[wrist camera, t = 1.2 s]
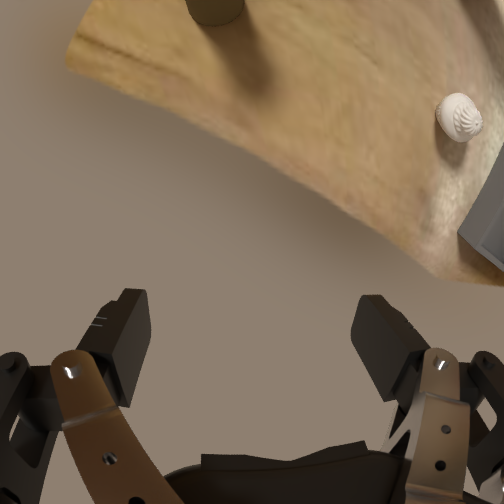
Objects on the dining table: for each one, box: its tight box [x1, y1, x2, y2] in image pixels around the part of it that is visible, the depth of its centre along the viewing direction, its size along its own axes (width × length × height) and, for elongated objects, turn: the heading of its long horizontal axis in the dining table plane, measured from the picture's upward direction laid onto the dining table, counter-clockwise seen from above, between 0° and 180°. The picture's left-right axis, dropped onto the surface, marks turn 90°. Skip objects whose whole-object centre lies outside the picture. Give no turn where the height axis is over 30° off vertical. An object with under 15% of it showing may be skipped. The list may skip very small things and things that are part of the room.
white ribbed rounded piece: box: [435, 93, 483, 143], centre depth 24 cm, size 6×6×7 cm
